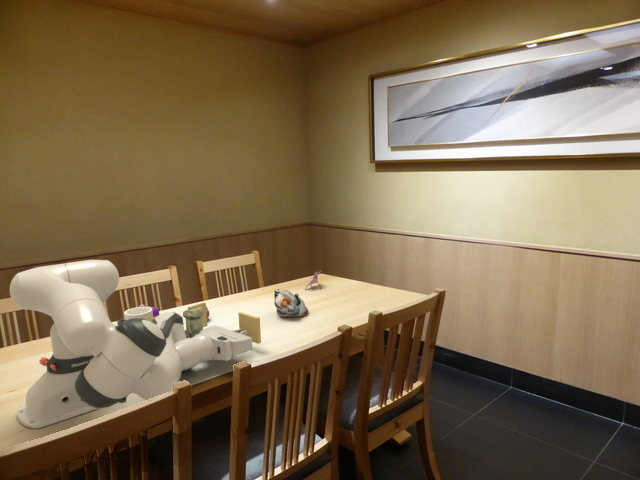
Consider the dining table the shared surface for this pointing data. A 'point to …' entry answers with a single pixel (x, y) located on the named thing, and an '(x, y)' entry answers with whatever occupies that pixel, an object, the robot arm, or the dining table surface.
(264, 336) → the dining table surface
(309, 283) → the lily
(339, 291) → the dining table surface
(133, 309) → the foam cup
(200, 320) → the tribrach
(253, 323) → the tan placard on stand
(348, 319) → the dining table surface
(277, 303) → the grey lumpy piece
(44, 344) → the dining table surface
